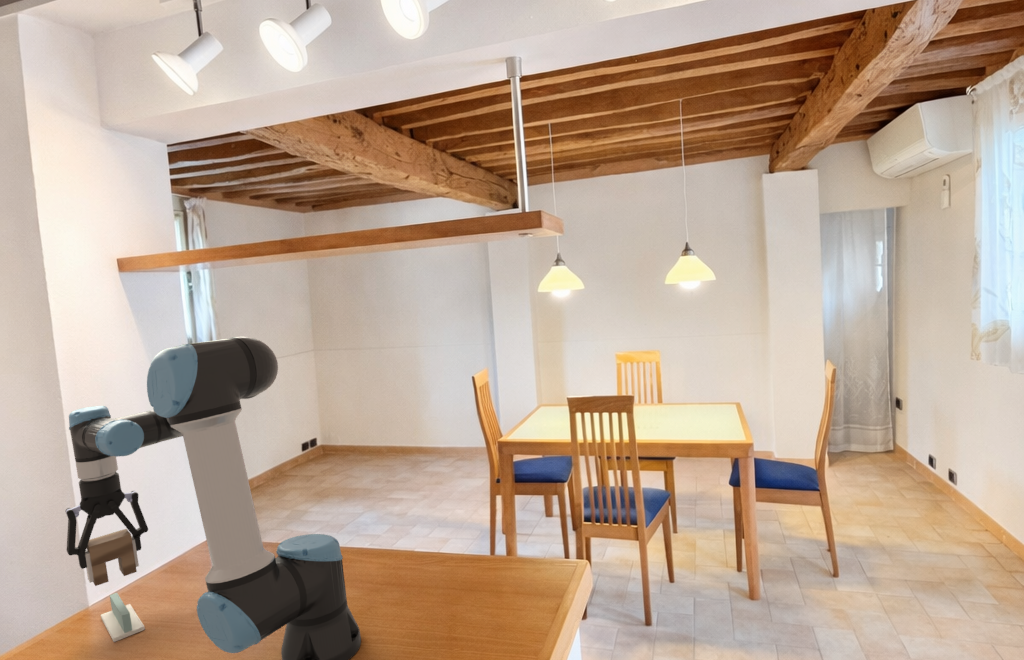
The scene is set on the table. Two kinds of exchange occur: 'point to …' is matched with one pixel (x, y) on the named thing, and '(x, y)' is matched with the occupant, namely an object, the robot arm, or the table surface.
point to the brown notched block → (111, 554)
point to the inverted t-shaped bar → (121, 619)
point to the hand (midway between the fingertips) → (113, 572)
